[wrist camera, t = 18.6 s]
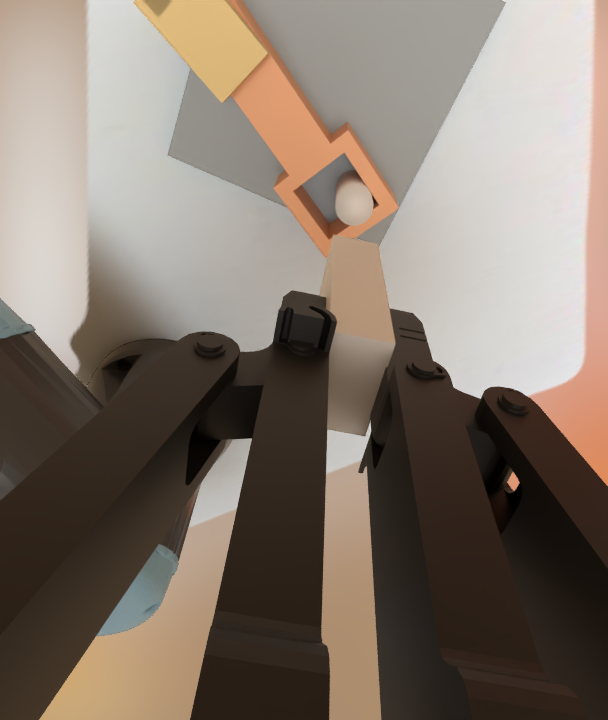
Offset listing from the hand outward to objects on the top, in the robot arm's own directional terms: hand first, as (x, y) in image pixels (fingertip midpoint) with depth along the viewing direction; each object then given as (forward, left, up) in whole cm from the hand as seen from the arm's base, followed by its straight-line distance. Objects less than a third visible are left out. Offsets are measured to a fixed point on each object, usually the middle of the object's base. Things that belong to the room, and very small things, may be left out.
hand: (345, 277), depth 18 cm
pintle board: (+3, +5, -26) cm, 27 cm away
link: (0, +4, -25) cm, 26 cm away
